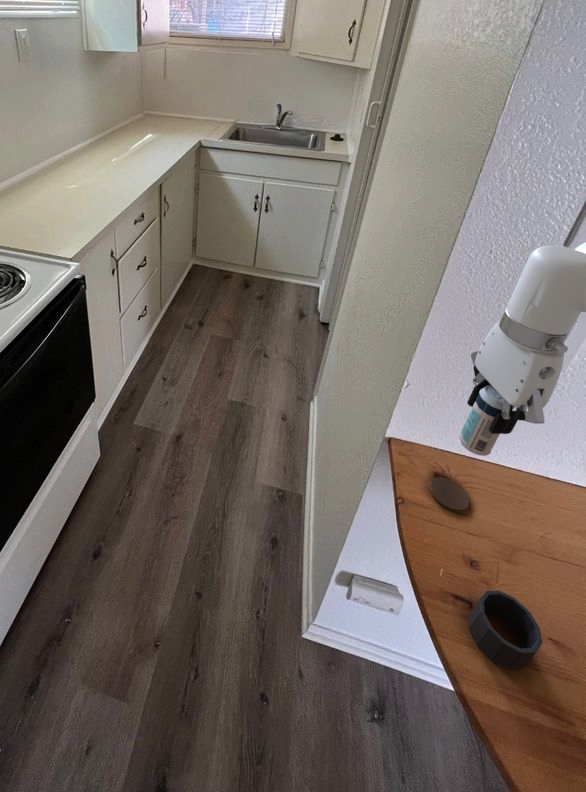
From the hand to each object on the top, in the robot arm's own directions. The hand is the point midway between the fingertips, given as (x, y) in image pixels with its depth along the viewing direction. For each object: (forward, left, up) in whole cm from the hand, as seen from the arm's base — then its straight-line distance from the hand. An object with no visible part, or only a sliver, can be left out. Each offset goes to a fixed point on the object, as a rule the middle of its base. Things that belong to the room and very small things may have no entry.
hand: (487, 417), depth 70 cm
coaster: (0, 0, -21) cm, 21 cm away
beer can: (0, 0, -7) cm, 7 cm away
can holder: (+5, +21, -21) cm, 30 cm away
